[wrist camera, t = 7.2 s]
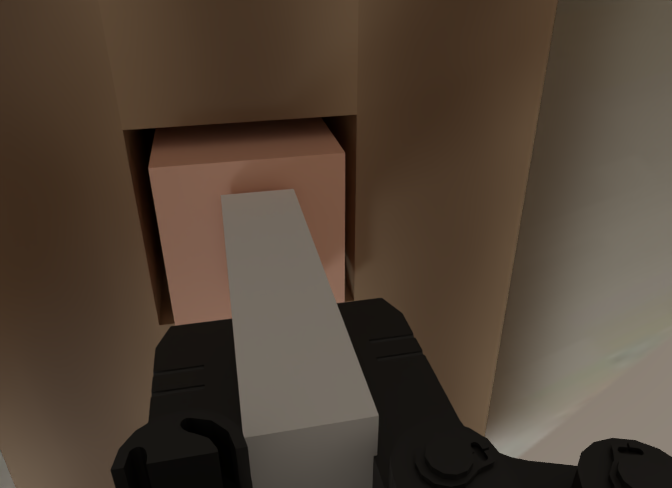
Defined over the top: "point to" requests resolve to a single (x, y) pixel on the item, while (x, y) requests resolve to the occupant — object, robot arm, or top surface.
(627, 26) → the top surface
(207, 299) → the peg
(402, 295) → the socket block
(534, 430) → the top surface
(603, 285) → the top surface
